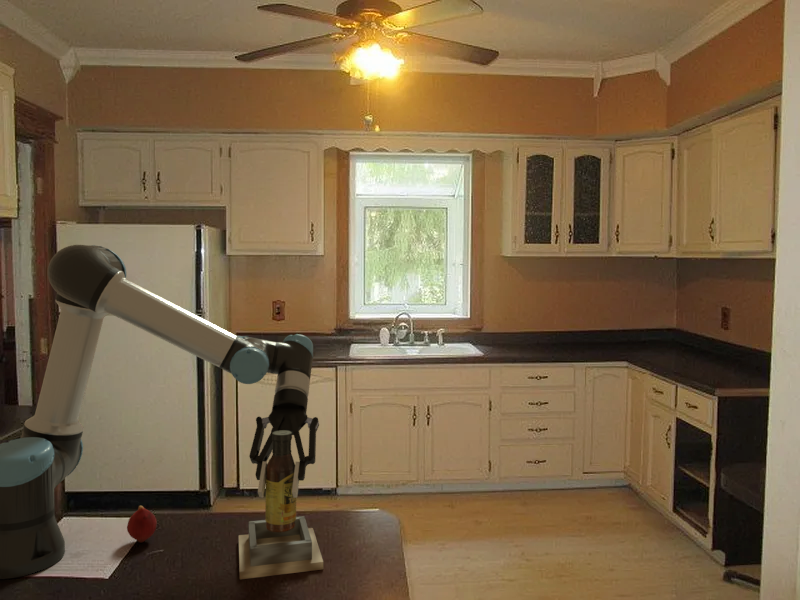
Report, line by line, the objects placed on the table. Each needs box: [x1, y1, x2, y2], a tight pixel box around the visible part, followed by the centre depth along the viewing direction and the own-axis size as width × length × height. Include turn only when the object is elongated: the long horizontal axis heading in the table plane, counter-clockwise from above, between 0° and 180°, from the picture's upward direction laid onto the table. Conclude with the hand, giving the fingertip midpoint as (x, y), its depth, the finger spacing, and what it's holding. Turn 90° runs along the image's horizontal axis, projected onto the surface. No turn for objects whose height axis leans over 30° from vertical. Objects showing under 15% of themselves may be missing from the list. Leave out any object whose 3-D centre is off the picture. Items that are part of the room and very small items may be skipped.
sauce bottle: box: [264, 430, 297, 533], centre depth 124 cm, size 7×6×20 cm
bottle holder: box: [238, 515, 324, 580], centre depth 125 cm, size 16×16×5 cm
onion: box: [126, 505, 158, 543], centre depth 130 cm, size 6×6×8 cm
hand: (277, 494), depth 121 cm, fingers closed on sauce bottle, 6 cm apart
